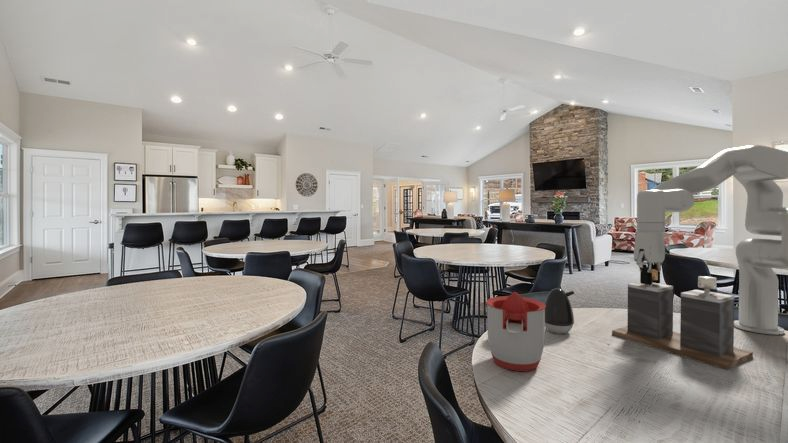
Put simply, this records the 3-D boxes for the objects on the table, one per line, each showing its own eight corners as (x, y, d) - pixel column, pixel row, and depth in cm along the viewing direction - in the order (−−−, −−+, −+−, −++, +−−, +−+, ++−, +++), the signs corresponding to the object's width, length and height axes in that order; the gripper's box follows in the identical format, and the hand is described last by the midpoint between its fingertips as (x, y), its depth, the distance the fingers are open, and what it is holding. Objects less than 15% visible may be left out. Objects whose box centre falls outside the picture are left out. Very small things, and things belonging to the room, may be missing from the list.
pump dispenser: (578, 337, 117) (578, 292, 116) (545, 335, 119) (545, 291, 119) (569, 327, 127) (570, 285, 126) (539, 325, 129) (539, 284, 129)
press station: (639, 326, 126) (639, 278, 126) (752, 357, 100) (753, 296, 99) (612, 334, 119) (612, 283, 119) (727, 369, 92) (728, 303, 92)
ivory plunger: (697, 340, 107) (698, 274, 107) (727, 348, 101) (728, 278, 101) (685, 344, 104) (686, 276, 104) (715, 353, 98) (716, 280, 97)
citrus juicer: (483, 373, 92) (482, 298, 91) (489, 349, 108) (488, 284, 107) (548, 383, 86) (548, 302, 86) (544, 355, 103) (544, 287, 102)
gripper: (652, 226, 122) (651, 279, 123) (623, 228, 115) (623, 284, 115) (677, 227, 115) (676, 282, 116) (649, 229, 108) (648, 288, 108)
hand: (650, 282), depth 116 cm, fingers closed on copper plunger, 4 cm apart
